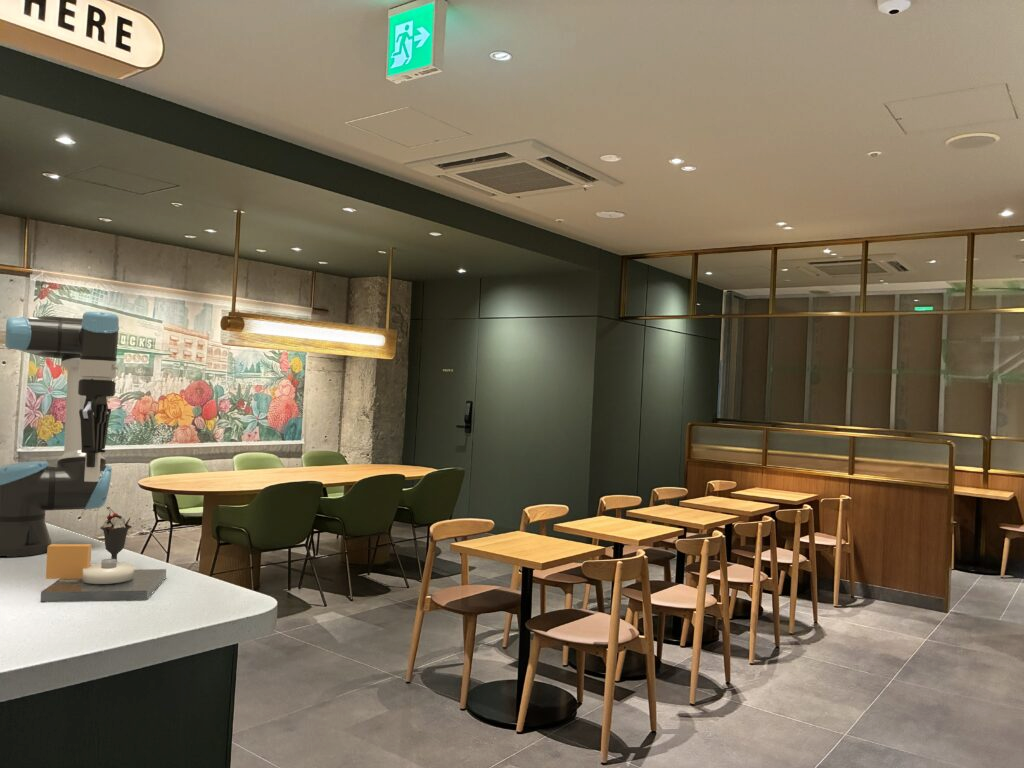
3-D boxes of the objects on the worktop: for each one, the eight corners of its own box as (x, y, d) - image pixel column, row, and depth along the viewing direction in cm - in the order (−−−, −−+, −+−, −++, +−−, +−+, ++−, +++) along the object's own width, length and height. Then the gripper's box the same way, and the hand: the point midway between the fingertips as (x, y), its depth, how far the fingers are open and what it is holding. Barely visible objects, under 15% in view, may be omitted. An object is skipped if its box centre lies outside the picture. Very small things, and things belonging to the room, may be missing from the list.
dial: (138, 573, 175) (140, 540, 175) (127, 583, 165) (128, 549, 166) (55, 573, 171) (57, 540, 171) (38, 584, 162) (41, 549, 162)
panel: (71, 578, 176) (72, 568, 176) (165, 577, 181) (166, 568, 181) (40, 601, 157) (41, 590, 157) (146, 600, 162) (147, 589, 162)
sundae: (91, 569, 186) (95, 507, 187) (113, 563, 193) (116, 503, 193) (113, 572, 184) (116, 509, 185) (134, 566, 191) (138, 506, 191)
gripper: (104, 379, 172) (98, 484, 172) (124, 380, 185) (119, 478, 185) (68, 377, 171) (62, 483, 171) (91, 378, 184) (85, 477, 183)
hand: (91, 481), depth 178 cm, fingers closed
